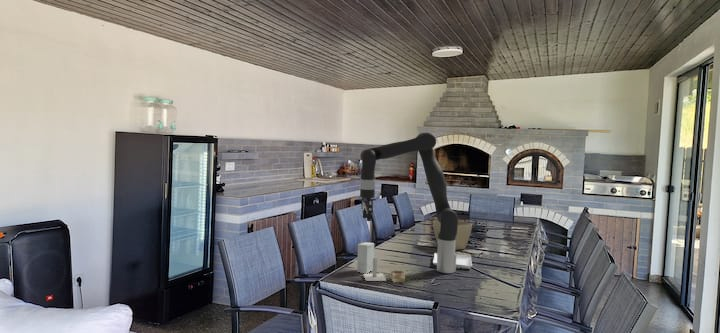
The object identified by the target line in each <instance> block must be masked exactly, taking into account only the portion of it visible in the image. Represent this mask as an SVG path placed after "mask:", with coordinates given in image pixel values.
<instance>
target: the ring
mask: <svg viewBox="0 0 720 333" xmlns="http://www.w3.org/2000/svg"><path fill="white" fill-rule="evenodd" d="M390 278H391V279H392V280H391V279H390V280H391V282H392V281H393V282H392V283H405V282H406V273H405V272H404V271H403V270H390Z"/></svg>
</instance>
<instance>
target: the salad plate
mask: <svg viewBox="0 0 720 333" xmlns="http://www.w3.org/2000/svg"><path fill="white" fill-rule="evenodd" d="M432 263H433V265H434V266H436V267H437V252H434V255H433V260H432ZM472 267H473V263H472V256H471V255H462V254H456V269H460V268H462V270H463V269H467V270H468V269H470V268H472Z"/></svg>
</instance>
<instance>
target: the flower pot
mask: <svg viewBox="0 0 720 333" xmlns="http://www.w3.org/2000/svg"><path fill="white" fill-rule="evenodd" d="M440 226H441V223H440V222H439V221H438V220H432V227H433V232H434V237H435V240H436V243H437V245H438V233H439V232H440ZM472 229H473V223H471V222H470V223H469V222H466V221H462V220H459V219H458V228H457V235H456V242H455V251H457V250H459V251H460V250H465V249H466V247H467V245H468V242H469V239H470V238H471V237H470V236H471V233H472Z"/></svg>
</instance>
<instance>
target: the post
mask: <svg viewBox="0 0 720 333" xmlns="http://www.w3.org/2000/svg"><path fill="white" fill-rule="evenodd" d="M377 270H378V257H377V258H376V257H374V258H373V271H372V273H368V274H363V273H362V276H363V275H364V276H363V279H364V278H365V279H364V281H365V280H366V281H386V282H387V279H386V277H385V274H384V273H378V271H377ZM366 281H365V282H366Z"/></svg>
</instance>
